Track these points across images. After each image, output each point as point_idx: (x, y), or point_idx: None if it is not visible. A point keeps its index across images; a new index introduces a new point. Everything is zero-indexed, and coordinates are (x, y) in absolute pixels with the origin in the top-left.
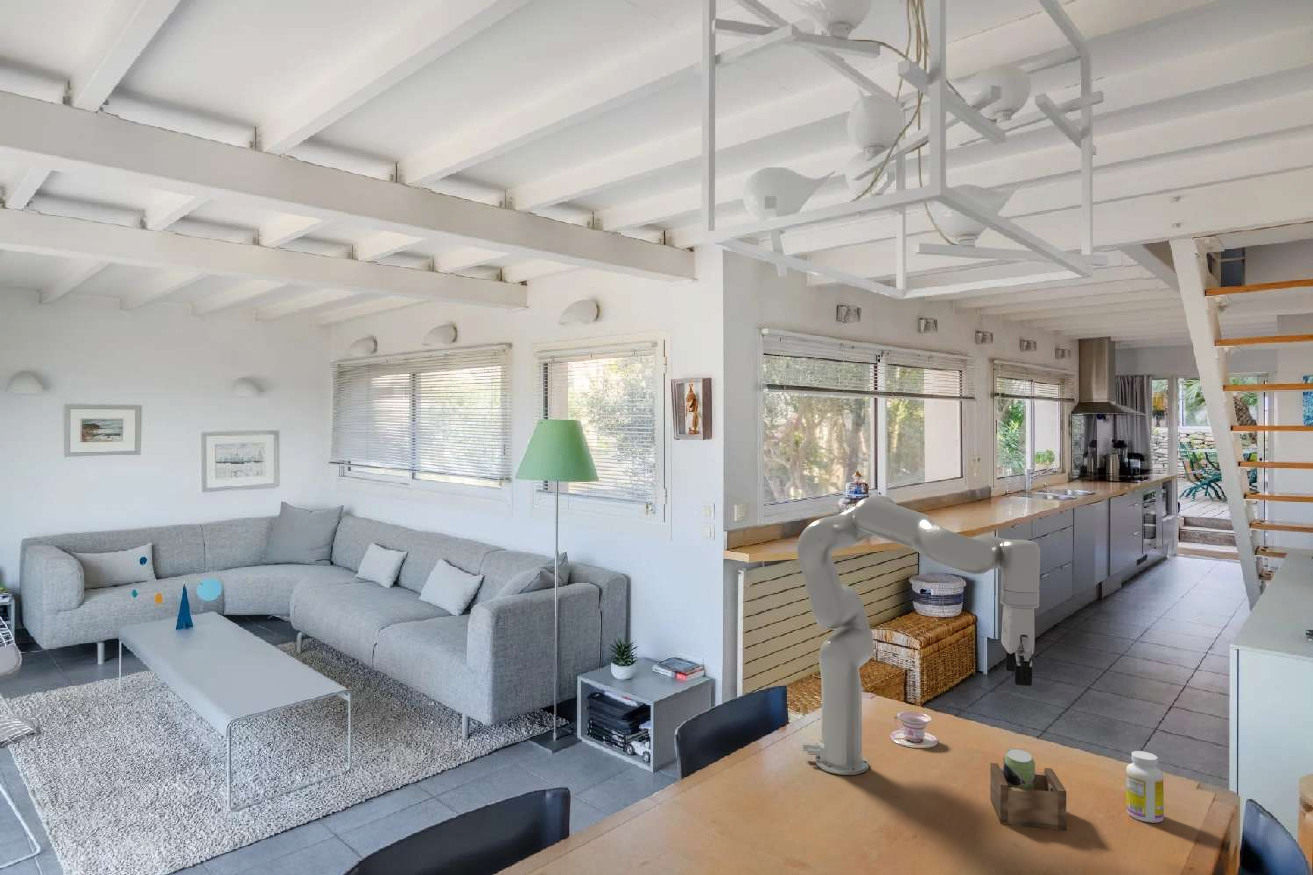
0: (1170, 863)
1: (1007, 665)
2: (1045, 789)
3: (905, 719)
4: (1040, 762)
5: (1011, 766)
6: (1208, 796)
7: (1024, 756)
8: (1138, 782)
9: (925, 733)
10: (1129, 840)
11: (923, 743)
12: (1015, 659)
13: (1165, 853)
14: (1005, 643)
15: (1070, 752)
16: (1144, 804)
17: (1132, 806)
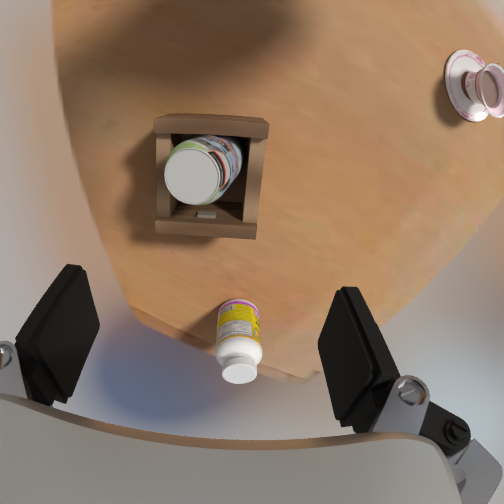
0: (125, 292)
1: (345, 310)
2: (242, 210)
3: (498, 82)
4: (397, 245)
5: (173, 149)
6: (296, 373)
7: (188, 187)
8: (220, 338)
9: (485, 113)
10: (165, 274)
11: (460, 93)
12: (341, 376)
13: (146, 297)
14: (109, 499)
15: (416, 290)
16: (218, 322)
17: (228, 308)
